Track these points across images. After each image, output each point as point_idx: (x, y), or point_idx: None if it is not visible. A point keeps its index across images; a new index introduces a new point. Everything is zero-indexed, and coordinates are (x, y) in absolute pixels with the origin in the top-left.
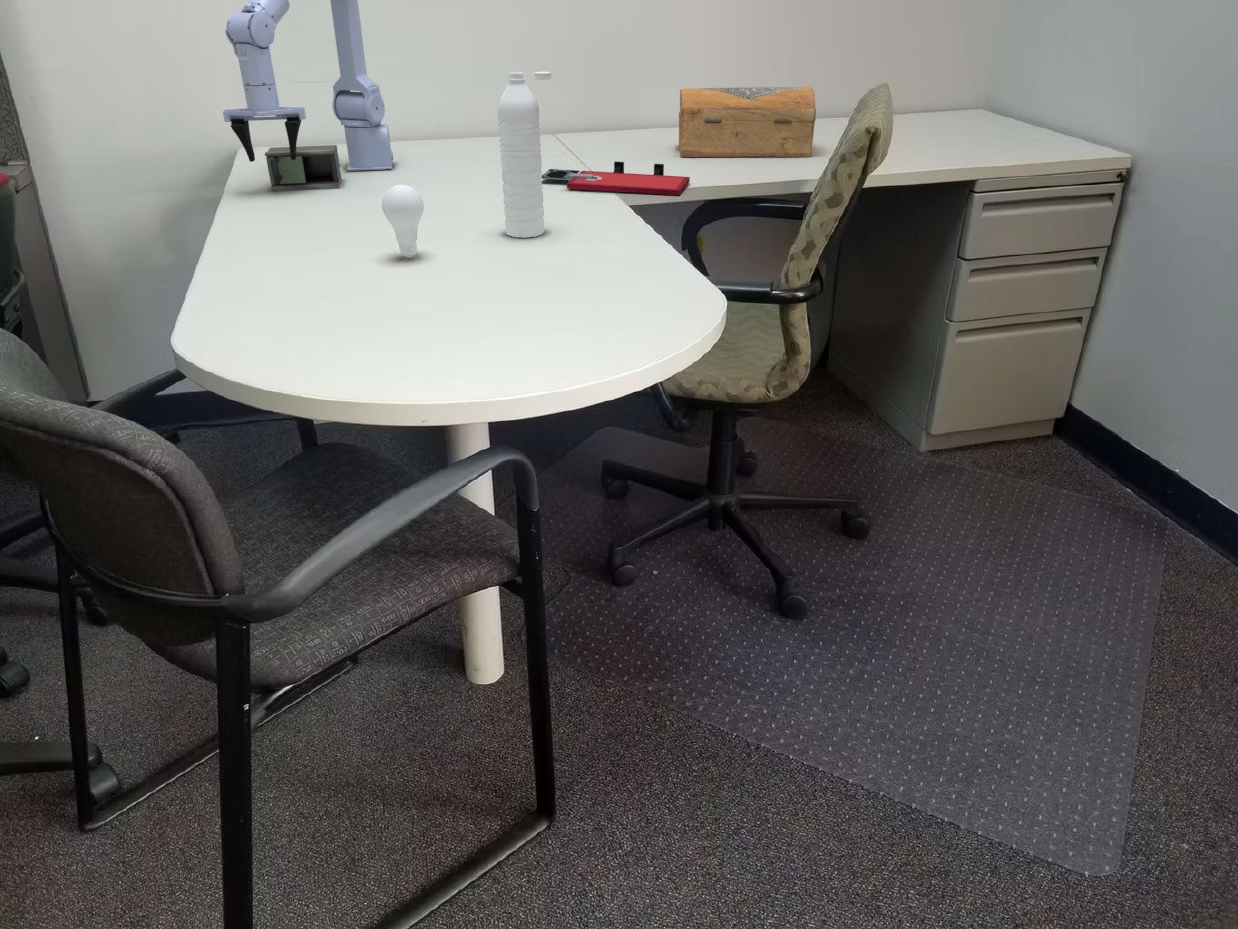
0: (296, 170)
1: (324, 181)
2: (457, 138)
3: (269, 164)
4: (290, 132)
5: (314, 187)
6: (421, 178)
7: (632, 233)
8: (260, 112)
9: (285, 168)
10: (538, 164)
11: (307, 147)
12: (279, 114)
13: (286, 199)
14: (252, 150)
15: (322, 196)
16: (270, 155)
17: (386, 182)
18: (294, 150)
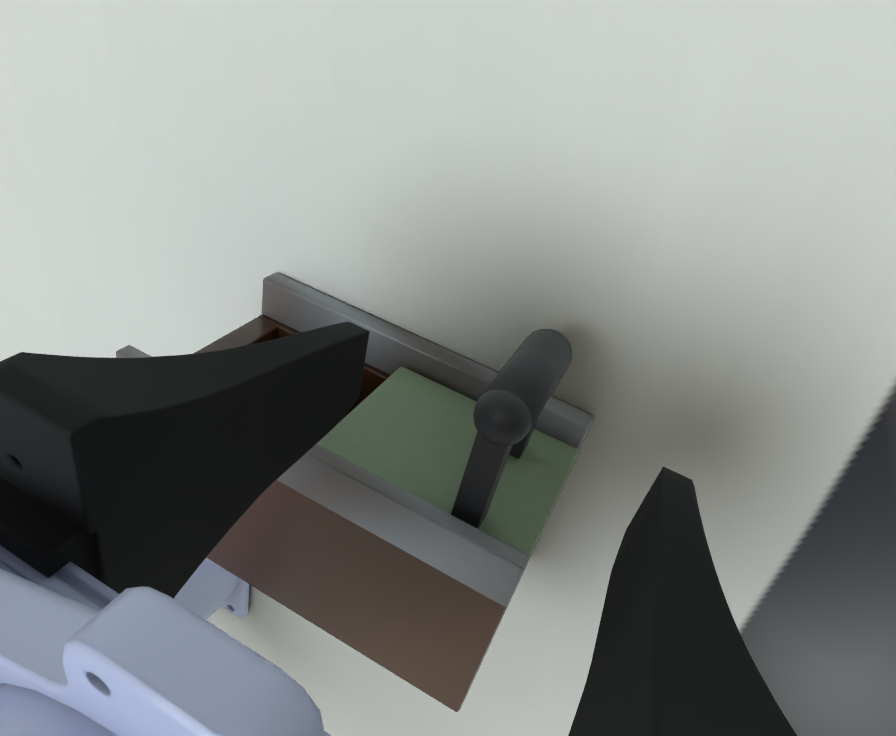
0: (400, 417)
1: None
2: None
3: (529, 519)
4: (157, 381)
5: (376, 321)
6: (8, 251)
7: None
8: (166, 702)
9: (451, 455)
10: None
11: (266, 564)
12: (14, 576)
13: (565, 135)
14: (620, 575)
15: (356, 105)
16: (491, 536)
17: (107, 260)
18: (290, 336)
